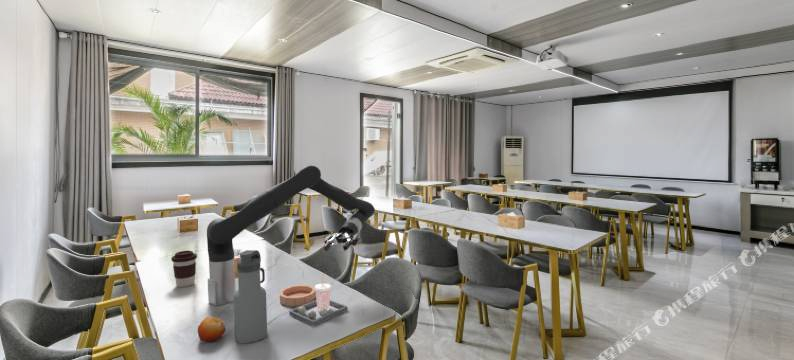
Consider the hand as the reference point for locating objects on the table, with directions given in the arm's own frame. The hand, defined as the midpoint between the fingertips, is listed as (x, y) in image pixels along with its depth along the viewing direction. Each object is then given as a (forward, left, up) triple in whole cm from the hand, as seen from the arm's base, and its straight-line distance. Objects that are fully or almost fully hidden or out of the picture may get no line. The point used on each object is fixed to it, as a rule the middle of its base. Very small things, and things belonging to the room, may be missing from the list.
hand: (334, 248), depth 145 cm
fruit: (-45, +7, -22) cm, 51 cm away
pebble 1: (-16, 0, -21) cm, 27 cm away
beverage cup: (-8, -3, -21) cm, 23 cm away
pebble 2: (-16, -6, -21) cm, 27 cm away
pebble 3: (-12, -8, -21) cm, 26 cm away
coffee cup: (-30, +67, -21) cm, 77 cm away
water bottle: (-36, -1, -21) cm, 42 cm away
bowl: (-8, +13, -21) cm, 27 cm away
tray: (-11, -4, -21) cm, 24 cm away
